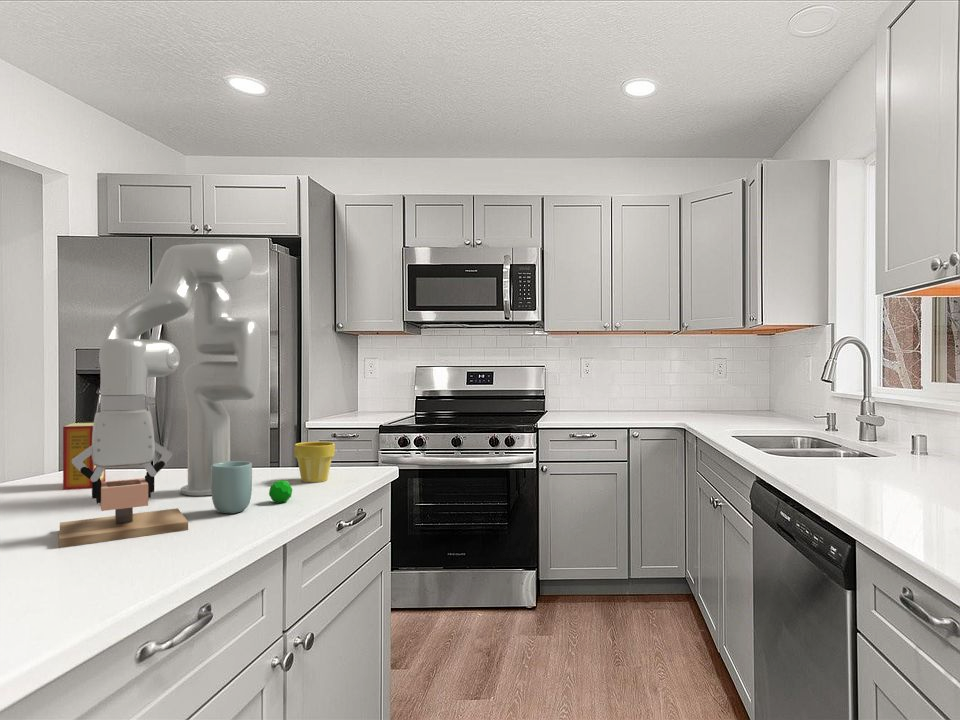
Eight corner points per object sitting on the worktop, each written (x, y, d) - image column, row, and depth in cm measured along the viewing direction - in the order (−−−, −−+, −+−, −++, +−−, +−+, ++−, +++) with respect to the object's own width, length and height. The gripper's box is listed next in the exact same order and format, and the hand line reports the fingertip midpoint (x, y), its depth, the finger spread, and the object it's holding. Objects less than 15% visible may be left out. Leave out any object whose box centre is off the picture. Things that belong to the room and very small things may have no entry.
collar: (144, 498, 121) (144, 478, 121) (148, 505, 115) (148, 484, 115) (99, 503, 117) (99, 482, 117) (101, 511, 111) (101, 488, 111)
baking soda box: (77, 482, 162) (77, 421, 163) (105, 481, 164) (105, 420, 164) (63, 489, 153) (63, 425, 153) (92, 488, 155) (92, 424, 155)
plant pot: (324, 475, 172) (324, 440, 172) (341, 480, 164) (341, 443, 164) (288, 479, 165) (288, 443, 165) (304, 485, 157) (304, 447, 157)
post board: (177, 515, 127) (177, 474, 127) (188, 529, 116) (188, 484, 116) (59, 530, 116) (59, 485, 116) (59, 547, 105) (59, 497, 105)
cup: (259, 508, 133) (259, 462, 133) (234, 517, 125) (233, 467, 125) (230, 506, 135) (229, 460, 135) (203, 514, 128) (203, 465, 128)
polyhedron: (273, 505, 135) (274, 484, 135) (265, 501, 139) (265, 480, 139) (295, 502, 139) (295, 481, 139) (287, 498, 142) (287, 478, 142)
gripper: (172, 402, 124) (172, 490, 124) (68, 405, 114) (67, 501, 114) (178, 404, 118) (178, 497, 117) (68, 407, 108) (67, 509, 108)
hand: (123, 498), depth 116 cm, fingers closed on collar, 7 cm apart
